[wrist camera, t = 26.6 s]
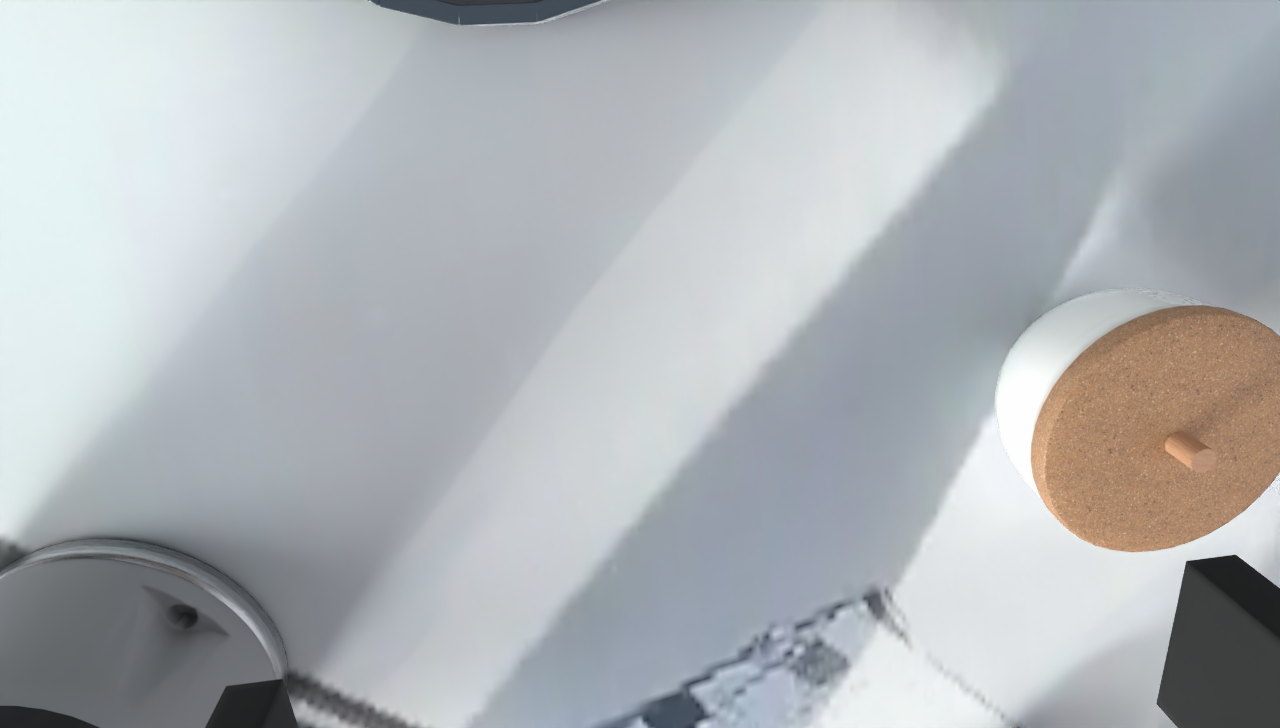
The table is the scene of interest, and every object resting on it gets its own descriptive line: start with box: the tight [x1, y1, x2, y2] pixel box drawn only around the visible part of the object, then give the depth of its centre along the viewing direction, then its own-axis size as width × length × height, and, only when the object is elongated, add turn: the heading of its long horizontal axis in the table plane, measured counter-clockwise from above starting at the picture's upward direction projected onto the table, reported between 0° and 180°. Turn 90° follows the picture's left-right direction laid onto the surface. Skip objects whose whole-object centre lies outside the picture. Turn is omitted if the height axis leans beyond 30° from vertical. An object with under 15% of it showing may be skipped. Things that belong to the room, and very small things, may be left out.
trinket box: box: [995, 288, 1280, 552], centre depth 35 cm, size 11×11×9 cm
